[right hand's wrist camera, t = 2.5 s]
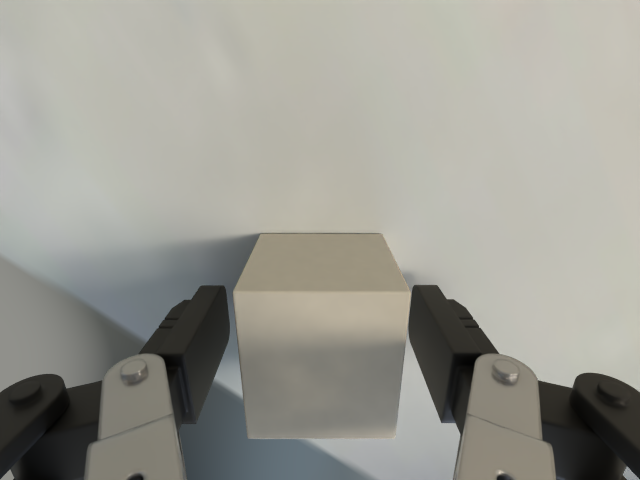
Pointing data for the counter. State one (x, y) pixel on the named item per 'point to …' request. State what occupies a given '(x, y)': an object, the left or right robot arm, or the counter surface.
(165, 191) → the counter surface
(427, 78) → the counter surface
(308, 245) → the block
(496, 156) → the counter surface
